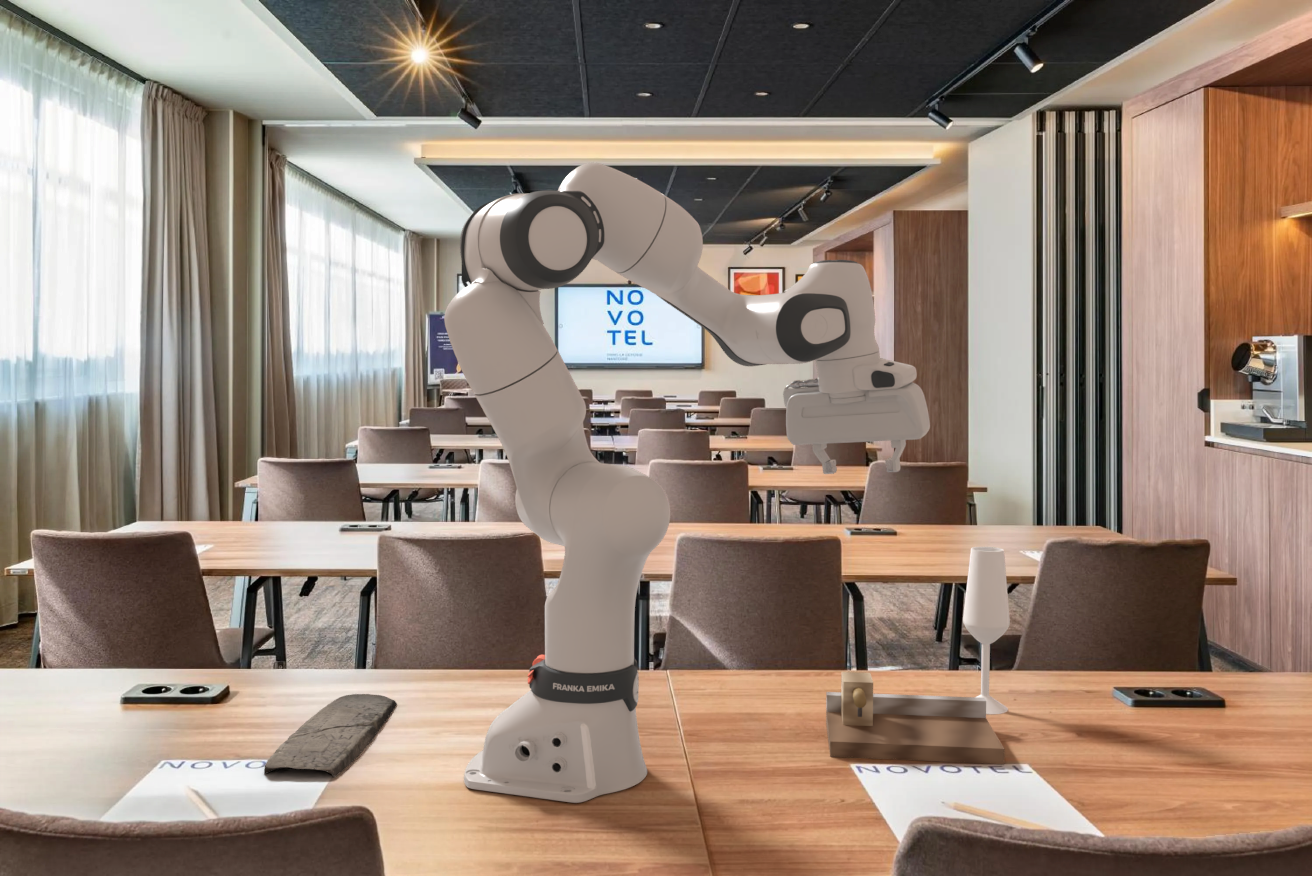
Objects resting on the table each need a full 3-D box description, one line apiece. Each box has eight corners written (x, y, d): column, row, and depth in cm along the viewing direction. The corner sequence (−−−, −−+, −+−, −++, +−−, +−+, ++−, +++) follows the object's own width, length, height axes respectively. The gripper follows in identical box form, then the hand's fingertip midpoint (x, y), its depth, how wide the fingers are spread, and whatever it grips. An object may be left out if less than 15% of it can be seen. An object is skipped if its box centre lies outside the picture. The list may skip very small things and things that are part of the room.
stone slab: (403, 692, 158) (337, 755, 128) (404, 713, 158) (337, 781, 128) (336, 692, 158) (254, 756, 128) (336, 713, 158) (255, 781, 128)
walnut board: (830, 756, 135) (830, 723, 135) (826, 722, 149) (826, 691, 149) (1004, 764, 133) (1004, 730, 132) (983, 728, 147) (984, 697, 146)
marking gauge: (844, 734, 138) (845, 690, 138) (841, 713, 147) (841, 671, 147) (875, 736, 137) (875, 691, 137) (869, 714, 146) (870, 672, 146)
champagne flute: (1002, 701, 159) (1005, 546, 158) (1013, 715, 153) (1016, 553, 151) (957, 699, 160) (960, 545, 159) (966, 713, 153) (968, 552, 152)
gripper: (772, 385, 147) (785, 479, 149) (913, 373, 136) (924, 475, 139) (790, 377, 152) (802, 469, 155) (927, 366, 142) (938, 464, 144)
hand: (861, 472), depth 146 cm, fingers open, 8 cm apart
